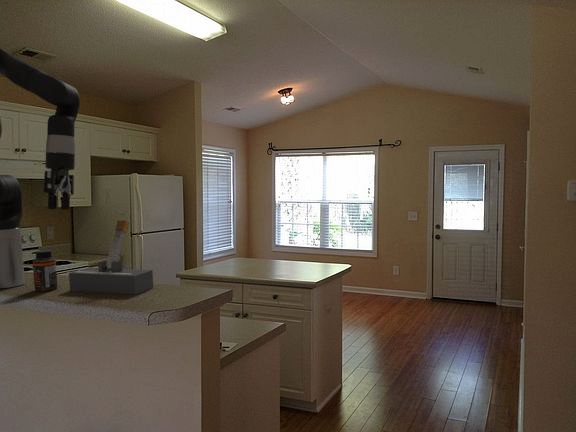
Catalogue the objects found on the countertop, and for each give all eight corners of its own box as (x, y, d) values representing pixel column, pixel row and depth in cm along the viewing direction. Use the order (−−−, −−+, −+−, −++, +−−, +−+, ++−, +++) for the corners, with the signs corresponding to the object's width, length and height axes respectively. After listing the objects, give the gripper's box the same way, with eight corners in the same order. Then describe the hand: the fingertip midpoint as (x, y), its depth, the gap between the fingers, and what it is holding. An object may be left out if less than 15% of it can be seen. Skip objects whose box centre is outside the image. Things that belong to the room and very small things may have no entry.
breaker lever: (103, 269, 136) (117, 220, 142) (107, 271, 137) (121, 223, 143) (111, 269, 135) (125, 220, 141) (115, 271, 136) (129, 223, 142)
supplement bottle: (30, 291, 138) (26, 251, 137) (48, 286, 143) (46, 248, 142) (43, 293, 135) (40, 252, 134) (62, 288, 140) (59, 249, 139)
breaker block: (70, 290, 137) (67, 262, 136) (90, 284, 144) (88, 257, 144) (135, 294, 130) (134, 264, 129) (153, 287, 137) (151, 259, 136)
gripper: (57, 155, 145) (56, 209, 145) (35, 148, 131) (33, 208, 131) (83, 156, 146) (81, 210, 146) (63, 149, 131) (61, 209, 131)
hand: (59, 209), depth 138 cm, fingers open, 8 cm apart
